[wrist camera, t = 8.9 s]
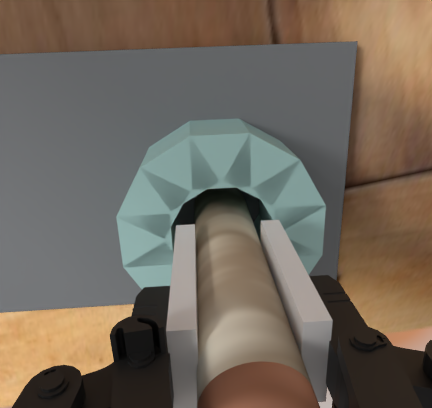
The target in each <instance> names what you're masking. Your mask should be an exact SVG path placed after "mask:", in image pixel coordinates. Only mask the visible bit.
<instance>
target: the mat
mask: <svg viewBox="0 0 432 408" xmlns="http://www.w3.org/2000/svg"><path fill="white" fill-rule="evenodd" d="M356 52H357V41H356V42H328V43H300V44H273V45H245V46H218V47H190V48H163V49H135V50H108V51H80V52H52V53H25V54H0V313H2V312H17V311H32V310H48V309H63V308H78V307H94V306H109V305H124V304H134V303H135V299H136V296H137V295H138V294H139V293H140V292H141V290H142V289H141V288H140V287H139V285H138V284H137V283H136V282H135V281H134V279H133V278H132V277H131V276H130V275H129V273H128V272H127V271H126V270H125V269H124V267H123V262H122V255H121V247H120V240H119V233H118V225H117V218H116V216H117V214H118V212H119V210H120V208H121V206H122V203H123V201H124V199H125V197H126V195H127V193H128V190H129V188H130V186H131V184H132V182H133V180H134V178H135V176H136V174H137V172H138V170H139V168H140V166H141V163H142V161H143V159H144V157H145V155H146V153H147V151H148V148H149V147H150V146H152V145H153V144H155V143H156V142H158V141H159V140H161V139H162V138H164V137H166V136H167V135H169V134H170V133H172V132H173V131H175V130H176V129H178V128H179V127H181V126H182V125H184V124H186V123H187V122H189V121H195V120H217V119H238V118H239V119H241V120H242V121H244V122H246V123H248V124H250V125H252V126H254V127H255V128H257V129H259V130H261V131H263V132H265V133H267V134H268V135H270V136H272V137H274V138H276V139H278V140H280V141H281V142H282V143H283V144H284V145H285V146H286V147H287V148H288V149H289V150H291V151H292V152H293V153H294V154H295V155H296V156H297V157H298V158H299V159H300V160H301V162H302V164H303V165H304V167H305V169H306V171H307V173H308V174H309V176H310V178H311V180H312V182H313V183H314V185H315V187H316V189H317V191H318V192H319V194H320V196H321V198H322V200H323V201H324V203H325V205H326V211H325V225H324V239H323V253H322V254H323V255H322V256H321V258H320V259H319V261H318V262H317V264H316V265H315V266H314V268H313V269H312V271H311V272H310V274H309V276H319V275H329V276H330V277H332V278H333V279H335V280H337V268H338V257H339V246H340V234H341V223H342V212H343V200H344V189H345V177H346V166H347V155H348V143H349V132H350V121H351V109H352V98H353V86H354V75H355V64H356ZM239 190H240V189H239ZM240 191H241V193H242V194H243V196H244V199H245V201H246V204H247V207H248V210H249V213H250V215H251V218H252V221H253V223H254V221H255V219H256V218H257V216H258V214H259V199H258V198H256V197H254V196H252V195H250V194H248V193H246V192H244V191H242V190H240ZM196 197H197V196H195V197H193V198H192V199H190V200H189V201H187V202H185V203H184V204H183V205H182V207H181V209H180V211H179V213H178V215H177V216H176V218H177V220H178V221H179V223H180V224H181V225H191V224H194V203H195V199H196Z"/></svg>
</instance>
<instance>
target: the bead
mask: <svg viewBox="0 0 432 408" xmlns="http://www.w3.org/2000/svg"><path fill="white" fill-rule="evenodd" d="M235 187H236V188H238V189H240V190H242V191H244V192H246V193H248V194H250V195H252V196H254V197H256V198H258V199H259V214H258V216H257V218H256V219H255V221H254V223H253V224H254V226H255V229H256V232H257V235H258V237H259V240H260V243H261V221H264V220H279V221H280V223H281V224H282V226H283V228H284V230H285V232H286V234H287V236H288V238H289V239H290V241H291V243H292V245H293V247H294V249H295V251H296V253H297V254H298V256H299V258H300V260H301V262H302V264H303V266H304V268H305V269H306V271H307V273H308V275H309V274H310V272H311V271H312V269H313V268H314V266H315V265H316V264H317V262H318V261H319V259H320V258H321V256H322V255H323V254H322V253H323V239H324V225H325V211H326V205H325V203H324V201H323V200H322V198H321V196H320V194H319V192H318V191H317V189H316V187H315V185H314V183H313V182H312V180H311V178H310V176H309V174H308V173H307V171H306V169H305V167H304V165H303V164H302V162H301V160H300V159H299V158H298V157H297V156H296V155H295V154H294V153H293V152H292V151H291V150H289V149H288V148H287V147H286V146H285V145H284V144H283V143H282V142H281V141H280V140H278V139H276V138H274V137H272V136H270V135H268V134H267V133H265V132H263V131H261V130H259V129H257V128H255V127H254V126H252V125H250V124H248V123H246V122H244V121H242V120H241V119H239V118H238V119H217V120H195V121H189V122H187V123H186V124H184V125H182V126H181V127H179V128H178V129H176V130H175V131H173V132H172V133H170V134H169V135H167V136H166V137H164V138H162V139H161V140H159V141H158V142H156V143H155V144H153V145H152V146H150V147H149V148H148V151H147V153H146V155H145V157H144V159H143V161H142V163H141V166H140V168H139V170H138V172H137V174H136V176H135V178H134V180H133V182H132V184H131V186H130V188H129V190H128V193H127V195H126V197H125V199H124V201H123V203H122V206H121V208H120V210H119V212H118V214H117V216H116V218H117V225H118V233H119V240H120V247H121V255H122V262H123V267H124V269H125V270H126V271H127V272H128V273H129V275H130V276H131V277H132V278H133V279H134V281H135V282H136V283H137V284H138V285H139V287H140V288H141V289H143V288H144V287H156V286H170V284H171V274H172V263H173V253H174V243H175V232H176V225H181V224H180V223H179V221H178V220H177V218H176V216H177V215H178V213H179V211H180V209H181V207H182V205H183V204H184V203H185V202H187V201H189V200H190V199H192V198H193V197H195V196H197V195H198V194H200V193H202V192H203V191H205V190H206V189H216V188H235Z"/></svg>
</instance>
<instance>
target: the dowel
mask: <svg viewBox="0 0 432 408" xmlns="http://www.w3.org/2000/svg"><path fill="white" fill-rule="evenodd" d="M194 224H195V237H196V269H197V318H198V365H197V408H320V406H319V403H318V401H317V398H316V395H315V392H314V390H313V387H312V384H311V381H310V379H309V376H308V373H307V370H306V367H305V365H304V362H303V359H302V356H301V354H300V351H299V348H298V345H297V343H296V340H295V337H294V334H293V332H292V329H291V326H290V323H289V320H288V318H287V315H286V312H285V309H284V307H283V304H282V301H281V298H280V296H279V293H278V290H277V287H276V284H275V282H274V279H273V276H272V273H271V271H270V268H269V265H268V262H267V260H266V257H265V254H264V251H263V249H262V246H261V243H260V240H259V237H258V235H257V232H256V229H255V226H254V224H253V221H252V218H251V215H250V213H249V210H248V207H247V204H246V201H245V199H244V196H243V194H242V193H241V191H240V190H239V189H238V188H236V187H235V188H216V189H206V190H205V191H203V192H202V193H200V194H198V195H197V197H196V199H195V203H194Z"/></svg>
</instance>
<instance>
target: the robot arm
mask: <svg viewBox="0 0 432 408" xmlns="http://www.w3.org/2000/svg"><path fill="white" fill-rule="evenodd" d="M261 246H262V249H263V251H264V254H265V257H266V260H267V262H268V265H269V268H270V271H271V273H272V276H273V279H274V282H275V284H276V287H277V290H278V293H279V296H280V298H281V301H282V304H283V307H284V309H285V312H286V315H287V318H288V320H289V323H290V326H291V329H292V332H293V334H294V337H295V340H296V343H297V345H298V348H299V351H300V354H301V356H302V359H303V362H304V365H305V367H306V370H307V373H308V376H309V379H310V381H311V384H312V387H313V390H314V392H315V395H316V398H317V401H318V402H323V401H326V392H327V387H328V390H329V391H330V394H331V397H332V399H333V402H332V408H432V340H430V341H429V343H427V345H426V348H425V352H423V351H417V350H411V349H405V348H400V347H396V346H393V345H392V344H391V342H390V341H389V339H388V338H387V337H386V336H385V335H384V334H382V333H381V332H379V331H378V330H375V329H372V328H370V327H368V326H367V325H366V323H365V322H364V320H363V318H362V317H361V315H360V314H359V312H358V311H357V309H356V308H355V306H354V305H353V303H352V302H351V301H350V298H349V297H348V295H347V294H345V291H344V289H343V288H342V286H341V285H340V283H339V282H338V281H336V280H335V279H333V278H332V277H330V276H329V275H319V276H309V275H308V273H307V271H306V269H305V268H304V266H303V264H302V262H301V260H300V258H299V256H298V254H297V253H296V251H295V249H294V247H293V245H292V243H291V241H290V239H289V238H288V236H287V234H286V232H285V230H284V228H283V226H282V224H281V223H280V221H279V220H264V221H261ZM110 340H111V346H112V352H113V358H114V362H113V363H112V364H110V365H109V366H107V367H105V368H103V369H100V370H98V371H95V372H92V373H89V374H86V375H82V376H81V373H80V371H79V370H78V369H76V368H75V367H73V366H67V365H61V366H54V367H51V368H48V369H46V370H43V371H42V372H40V373H39V374H37V375H36V376H34V377H33V378H32V379H31V380H30V381H29V382H28V384H27V385H26V386H25V388H24V389H23V391H22V392H21V394H20V395H19V397H18V399H17V400H16V402H15V403H14V405H13V407H12V408H197V365H198V318H197V269H196V237H195V224H191V225H176V232H175V243H174V253H173V263H172V274H171V284H170V286H156V287H144V288H143V289H142V290H141V292H140V293H139V294H138V295H137V296H136V299H135V303H134V308H133V312H132V316H131V317H127V318H125V319H124V320H122V321H120V322H118V323H117V324H116V325H115V326H114V327H113V328H112V331H111V333H110Z"/></svg>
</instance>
